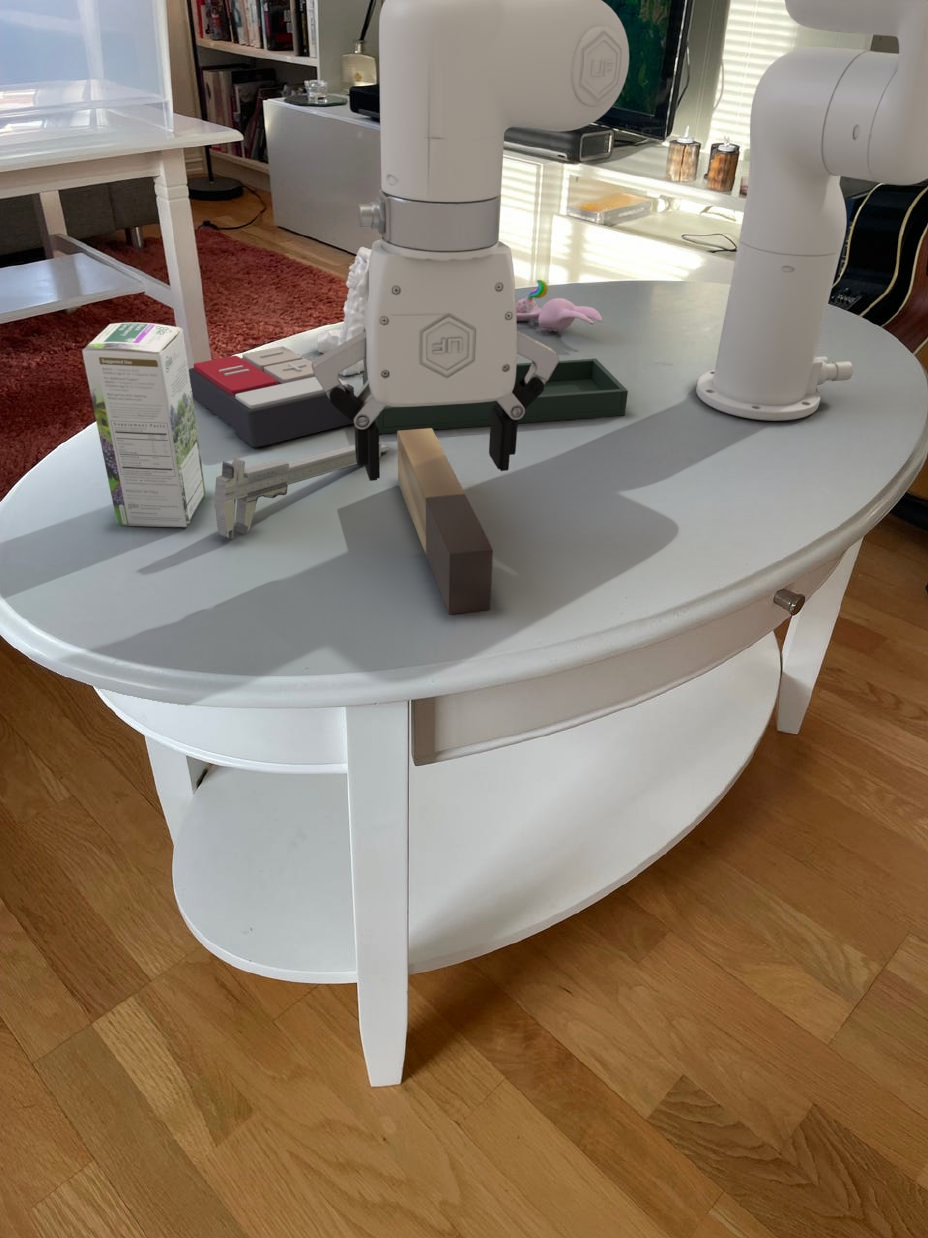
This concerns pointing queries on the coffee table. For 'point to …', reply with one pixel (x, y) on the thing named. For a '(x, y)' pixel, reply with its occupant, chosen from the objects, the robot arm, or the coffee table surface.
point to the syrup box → (146, 423)
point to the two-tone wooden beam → (444, 522)
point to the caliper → (268, 484)
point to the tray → (564, 397)
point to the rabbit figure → (552, 310)
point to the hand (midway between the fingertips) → (435, 467)
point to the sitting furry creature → (350, 311)
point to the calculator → (266, 395)
